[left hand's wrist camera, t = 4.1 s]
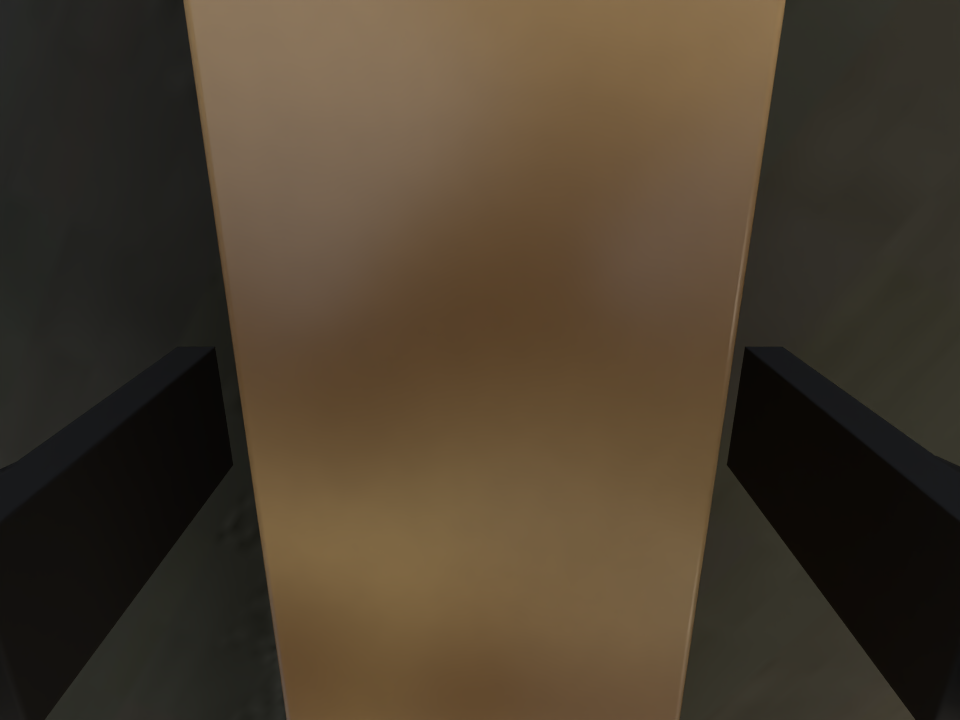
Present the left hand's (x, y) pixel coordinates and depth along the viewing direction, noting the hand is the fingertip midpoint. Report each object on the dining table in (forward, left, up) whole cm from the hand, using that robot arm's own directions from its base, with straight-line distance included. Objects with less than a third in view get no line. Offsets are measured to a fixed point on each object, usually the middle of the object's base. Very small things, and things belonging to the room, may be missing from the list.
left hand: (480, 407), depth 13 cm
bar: (+2, +17, -2) cm, 18 cm away
